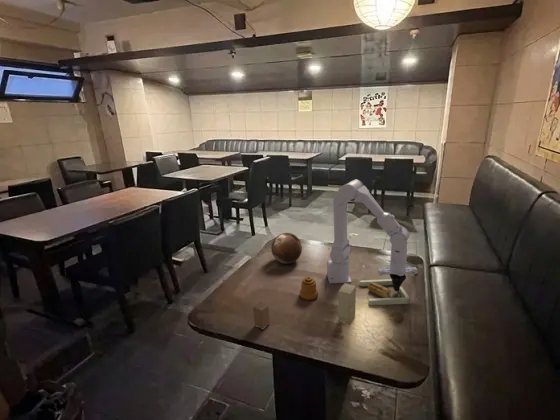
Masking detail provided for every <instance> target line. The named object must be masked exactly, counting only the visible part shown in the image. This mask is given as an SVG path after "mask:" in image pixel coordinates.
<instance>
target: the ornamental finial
mask: <svg viewBox="0 0 560 420" xmlns="http://www.w3.org/2000/svg"><path fill="white" fill-rule="evenodd" d="M300 285H301V288H300V289H299V296H300V298H302V299H303V300H305V299H306V301H313V300H315V299H317V298H318V297H319V296H318V295H319V290H318V289H317V281H316V279H314V278H313V277H312V276H306V277H304V278H303V279H301V284H300Z"/></svg>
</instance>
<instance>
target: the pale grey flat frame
mask: <svg viewBox="0 0 560 420" xmlns="http://www.w3.org/2000/svg"><path fill="white" fill-rule="evenodd" d="M371 282H374V283H377V284H379V285H381V286H393V283H392V279H391V278H388V279H370V280H369V279H368V280H366V279H365V280H364V279H363V280H359V286H360V287H368V286H369V284H370V283H371ZM397 292H398V293H399V295H400V296H401V297H388V298H383V297H380V298H368V305H369V306H385V305H406V304H407V305H409V304H411V298H410V296H409V295H408V294H407V292H406V291H405V289H404V287H402V285H401V286H400V289H399V291H397Z"/></svg>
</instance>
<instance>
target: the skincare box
mask: <svg viewBox="0 0 560 420" xmlns="http://www.w3.org/2000/svg"><path fill="white" fill-rule="evenodd" d="M356 291H357V286H356V285H354V284H350V283H342V285H341V286H340V288H339V290H338V291H337V292H338V294H337V295H338V297H337V304H338V307H337V308H338V309H337V312H338V313H337V321H338V322H341V323H343V324H346V325H351V323H352V322H353V320H354V318H355V316H356V300H357V299H356V297H357V295H356V294H357V293H356Z"/></svg>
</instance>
